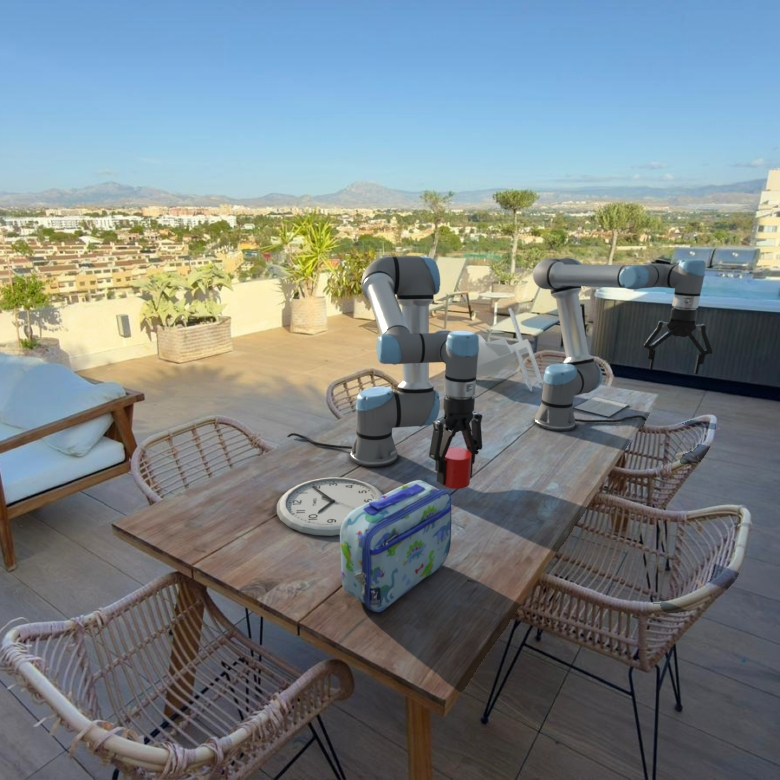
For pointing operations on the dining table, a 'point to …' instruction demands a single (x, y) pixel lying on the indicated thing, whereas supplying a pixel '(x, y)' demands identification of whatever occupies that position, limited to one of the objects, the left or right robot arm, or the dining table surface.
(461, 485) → the canister
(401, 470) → the dining table surface
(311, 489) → the wall clock
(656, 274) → the right robot arm
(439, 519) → the lunch box
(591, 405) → the invitation card
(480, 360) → the white plastic object
